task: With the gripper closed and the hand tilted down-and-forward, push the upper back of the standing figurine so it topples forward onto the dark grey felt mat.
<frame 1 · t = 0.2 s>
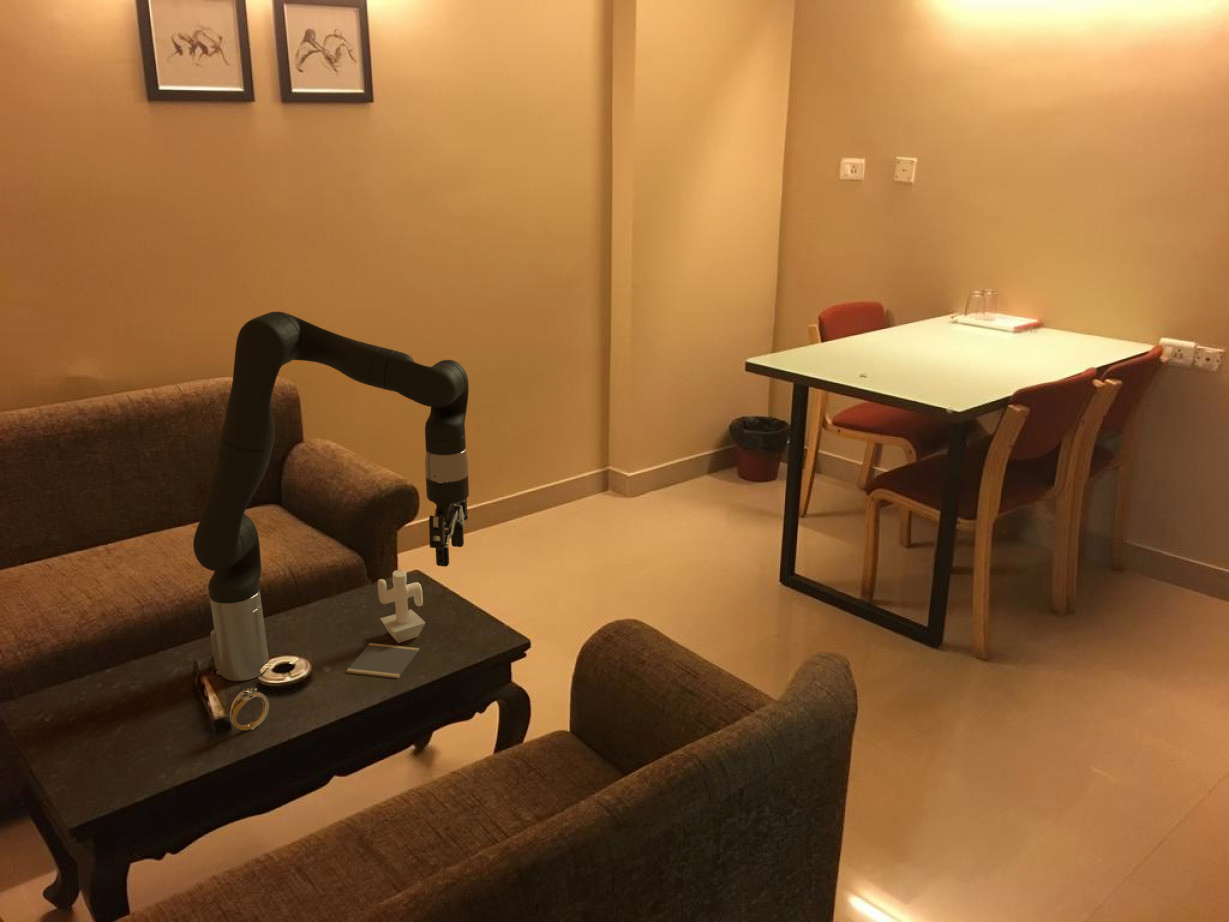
hand: (450, 555, 180), 29 cm above the table, tool pointing down, fingers open, 8 cm apart
ring: (252, 729, 178), on the table
felt mat: (383, 661, 200), on the table
figurine: (403, 636, 210), on the table
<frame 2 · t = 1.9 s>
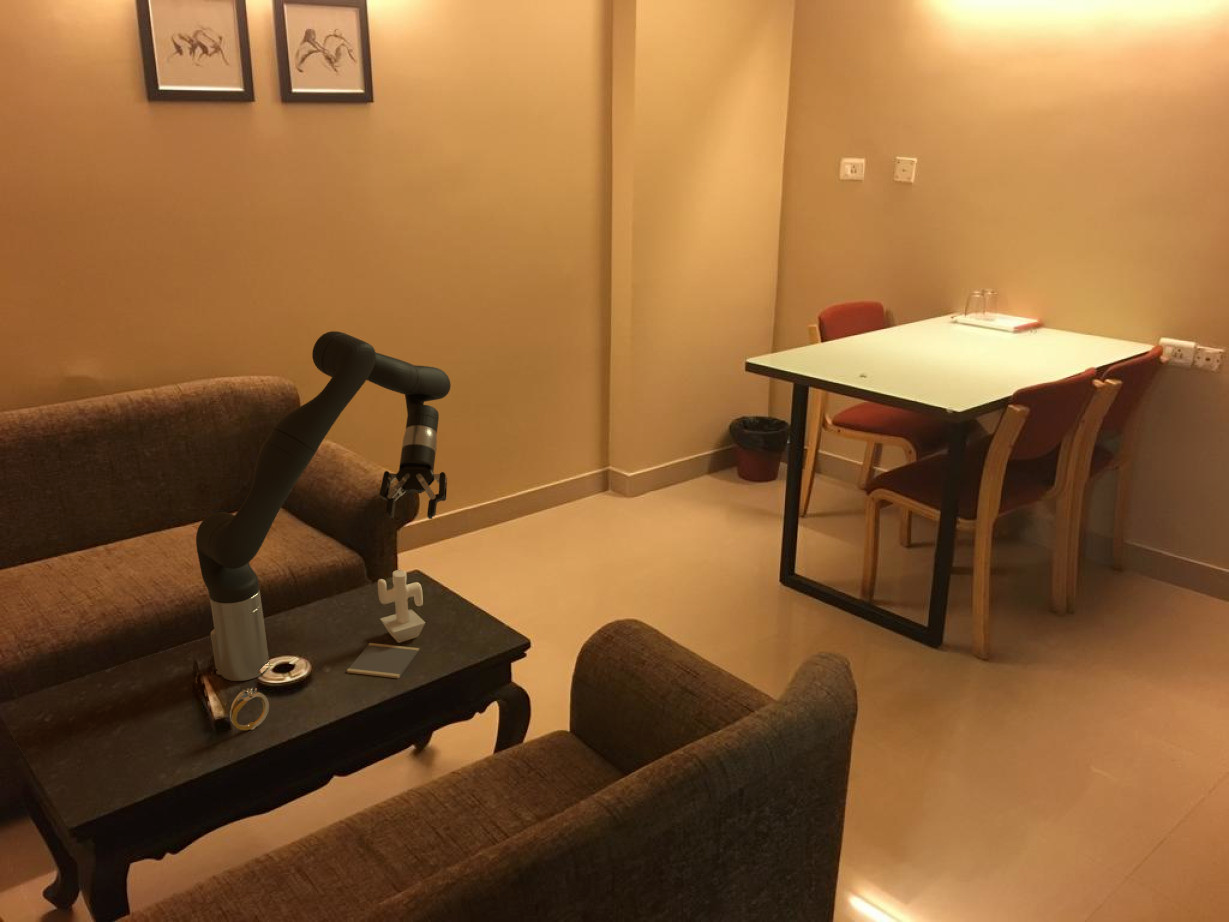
hand: (410, 517, 212), 23 cm above the table, tool tilted 45°, fingers open, 8 cm apart
nothing on the table moved.
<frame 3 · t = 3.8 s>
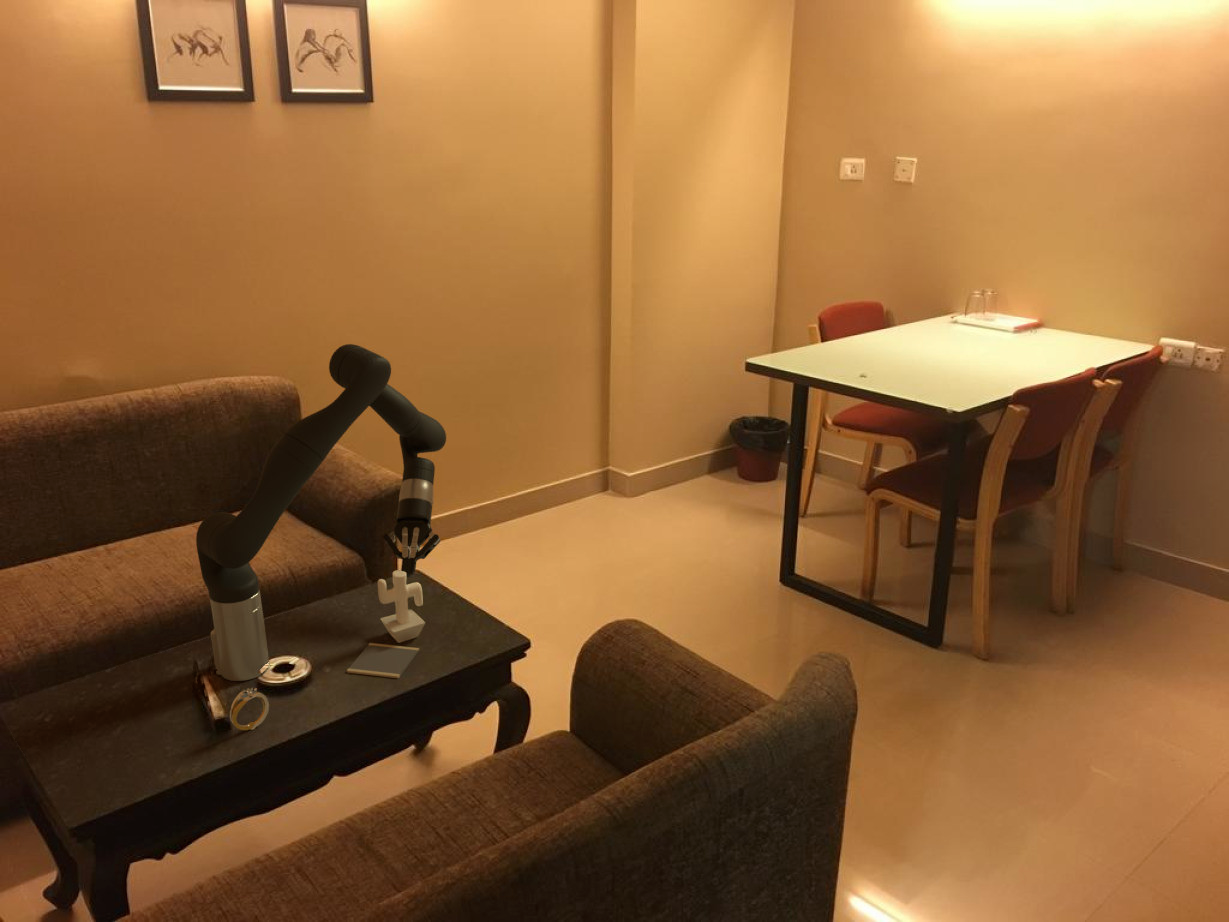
hand: (407, 576, 213), 11 cm above the table, tool tilted 45°, fingers closed
nothing on the table moved.
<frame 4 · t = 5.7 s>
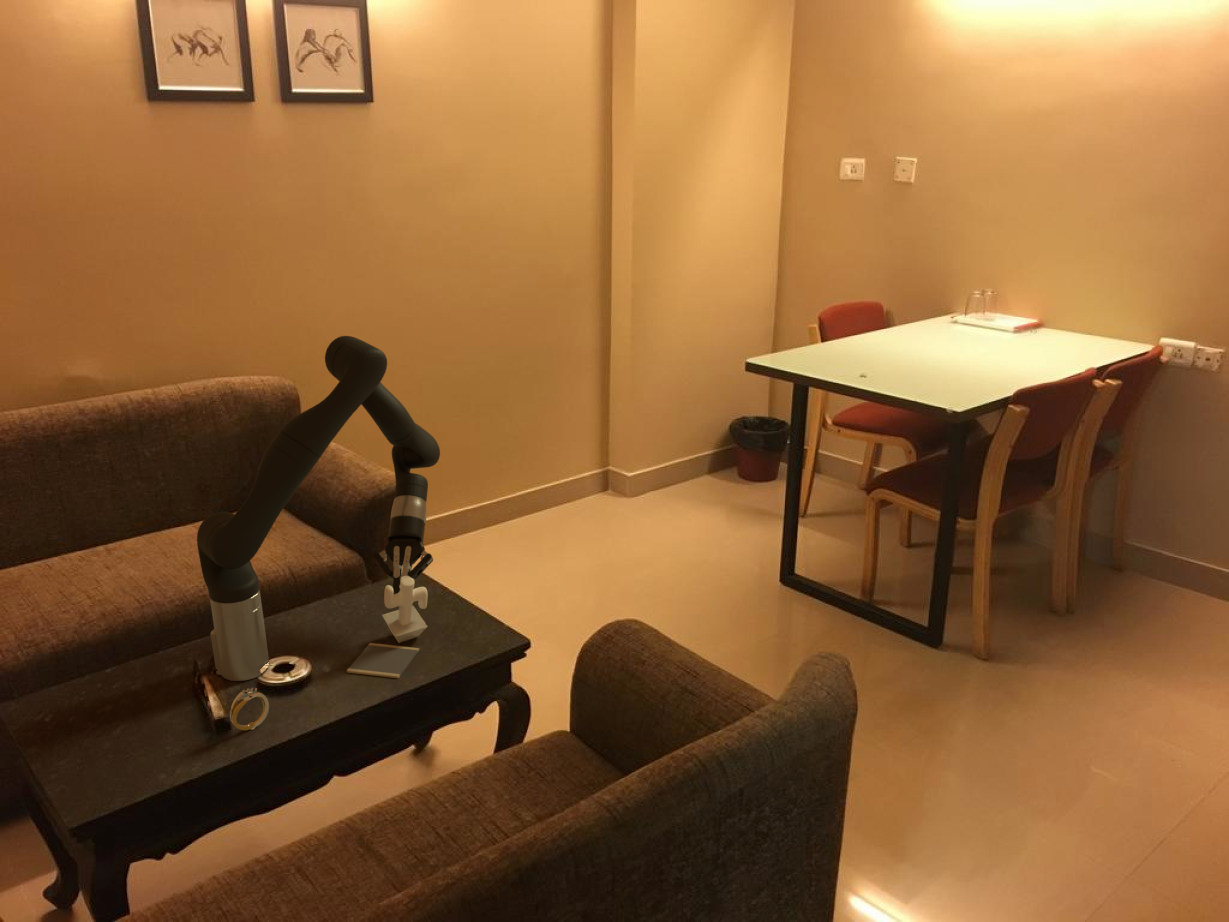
hand: (399, 596, 206), 10 cm above the table, tool tilted 45°, fingers closed
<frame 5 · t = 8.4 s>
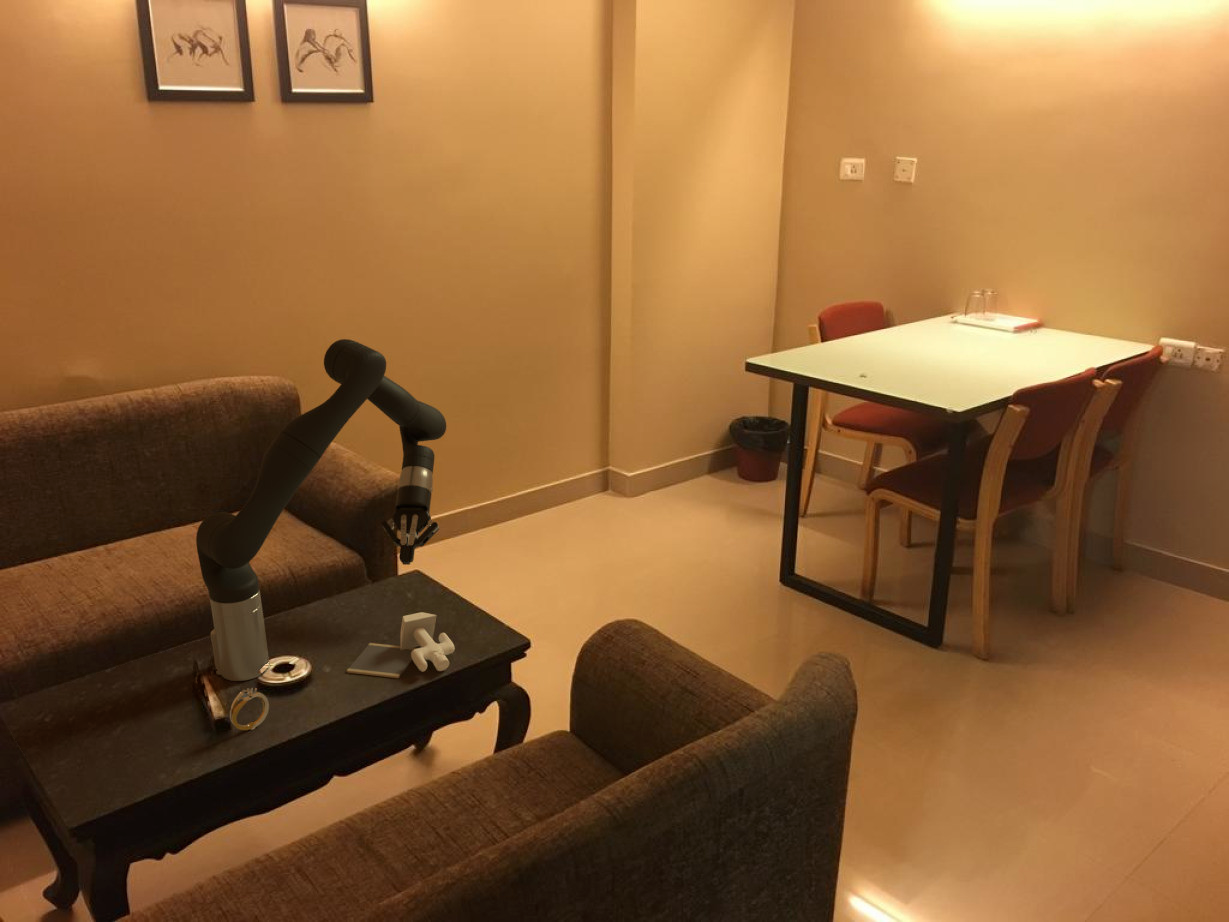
hand: (405, 563, 212), 14 cm above the table, tool tilted 45°, fingers closed
figurine: (410, 622, 206), point 5 cm above the table, touching felt mat
everything else where it was.
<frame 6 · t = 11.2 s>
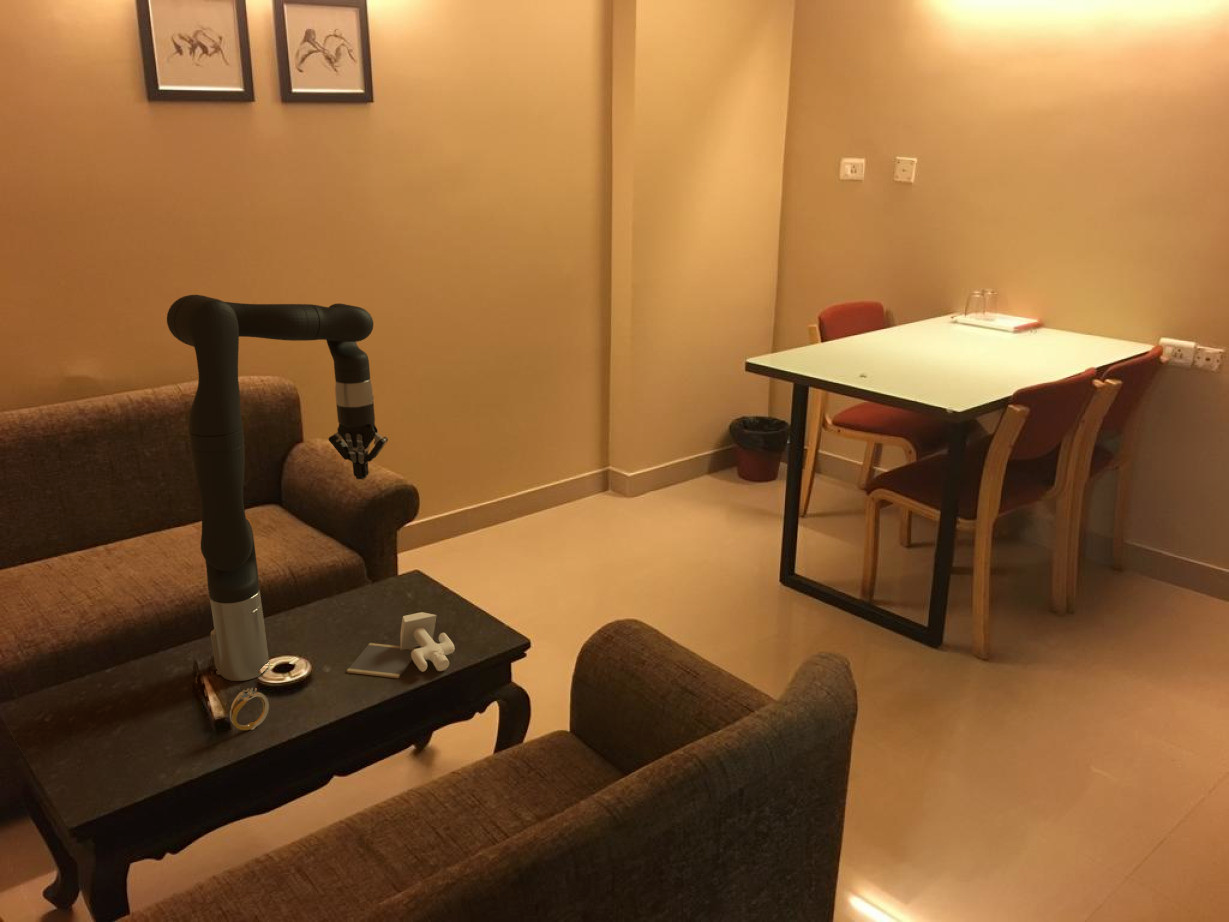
hand: (361, 478, 209), 32 cm above the table, tool pointing down, fingers closed
nothing on the table moved.
at the end: figurine tilted 102°; figurine touching felt mat, table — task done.
